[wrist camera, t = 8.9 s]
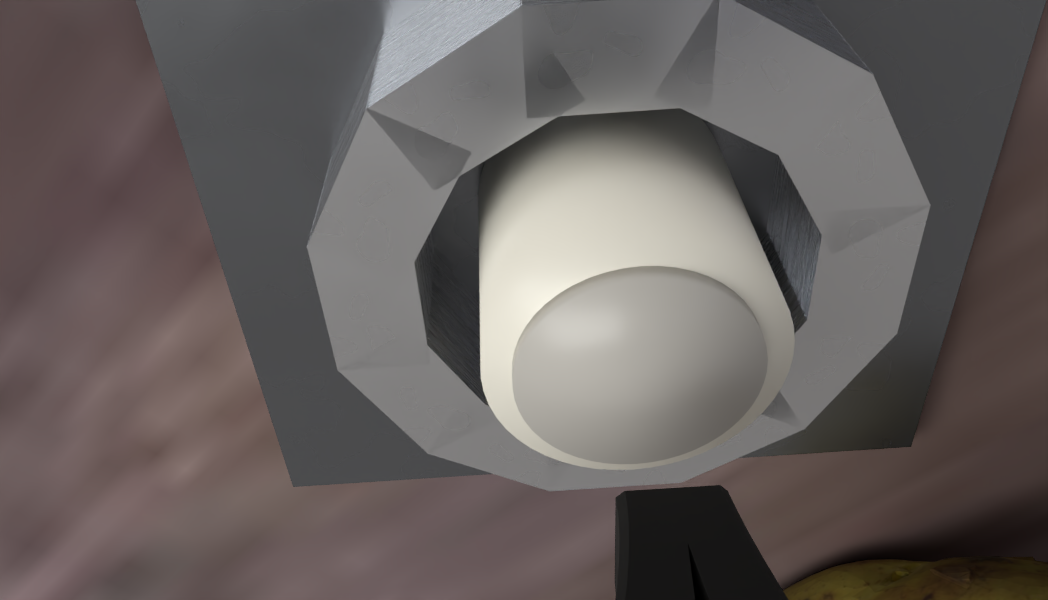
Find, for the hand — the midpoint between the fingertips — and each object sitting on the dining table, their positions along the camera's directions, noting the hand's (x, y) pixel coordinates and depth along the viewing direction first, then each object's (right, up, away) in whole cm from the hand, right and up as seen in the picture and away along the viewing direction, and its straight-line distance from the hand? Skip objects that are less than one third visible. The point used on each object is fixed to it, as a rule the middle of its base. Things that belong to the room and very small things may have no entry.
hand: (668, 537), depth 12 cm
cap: (0, +5, +6) cm, 8 cm away
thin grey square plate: (0, +5, +7) cm, 9 cm away
